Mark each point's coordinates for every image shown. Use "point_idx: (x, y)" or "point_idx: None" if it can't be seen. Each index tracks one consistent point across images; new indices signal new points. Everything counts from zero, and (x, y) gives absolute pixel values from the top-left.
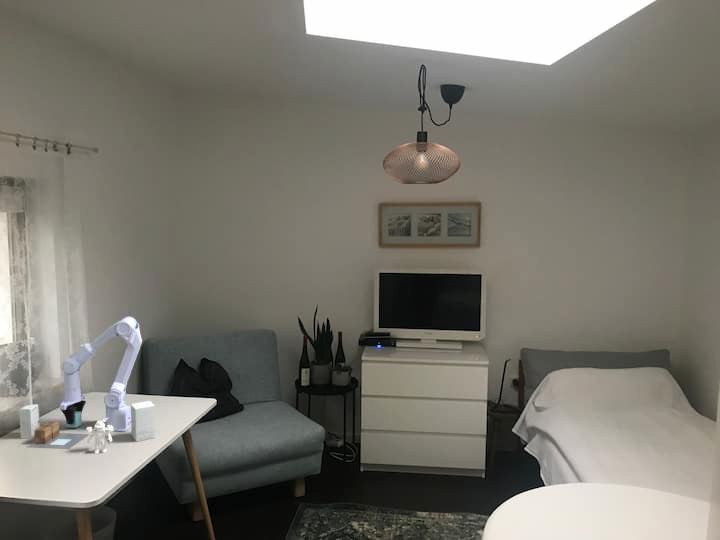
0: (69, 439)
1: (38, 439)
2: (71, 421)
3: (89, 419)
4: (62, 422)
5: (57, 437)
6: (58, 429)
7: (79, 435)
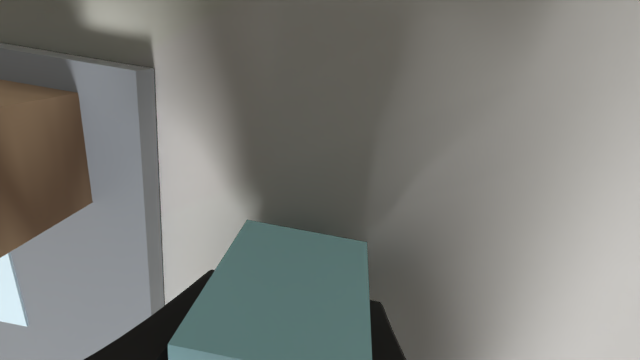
0: (22, 314)
1: None
2: None
3: (612, 295)
4: (608, 22)
5: None
6: (24, 233)
7: None
